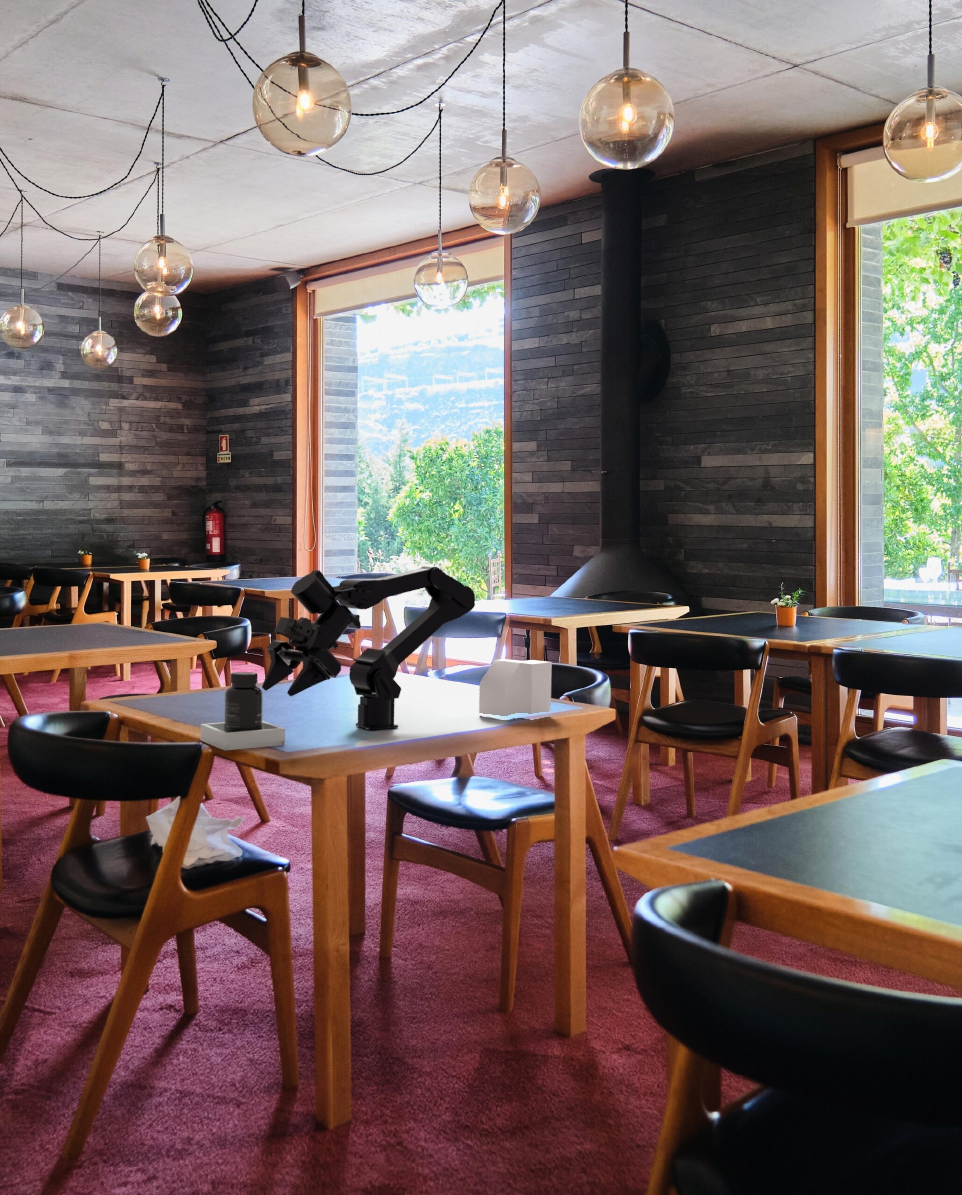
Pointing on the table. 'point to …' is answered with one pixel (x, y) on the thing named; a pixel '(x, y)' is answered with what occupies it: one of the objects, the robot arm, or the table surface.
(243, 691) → the supplement bottle
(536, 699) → the white chamfered block
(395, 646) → the robot arm
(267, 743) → the tray
